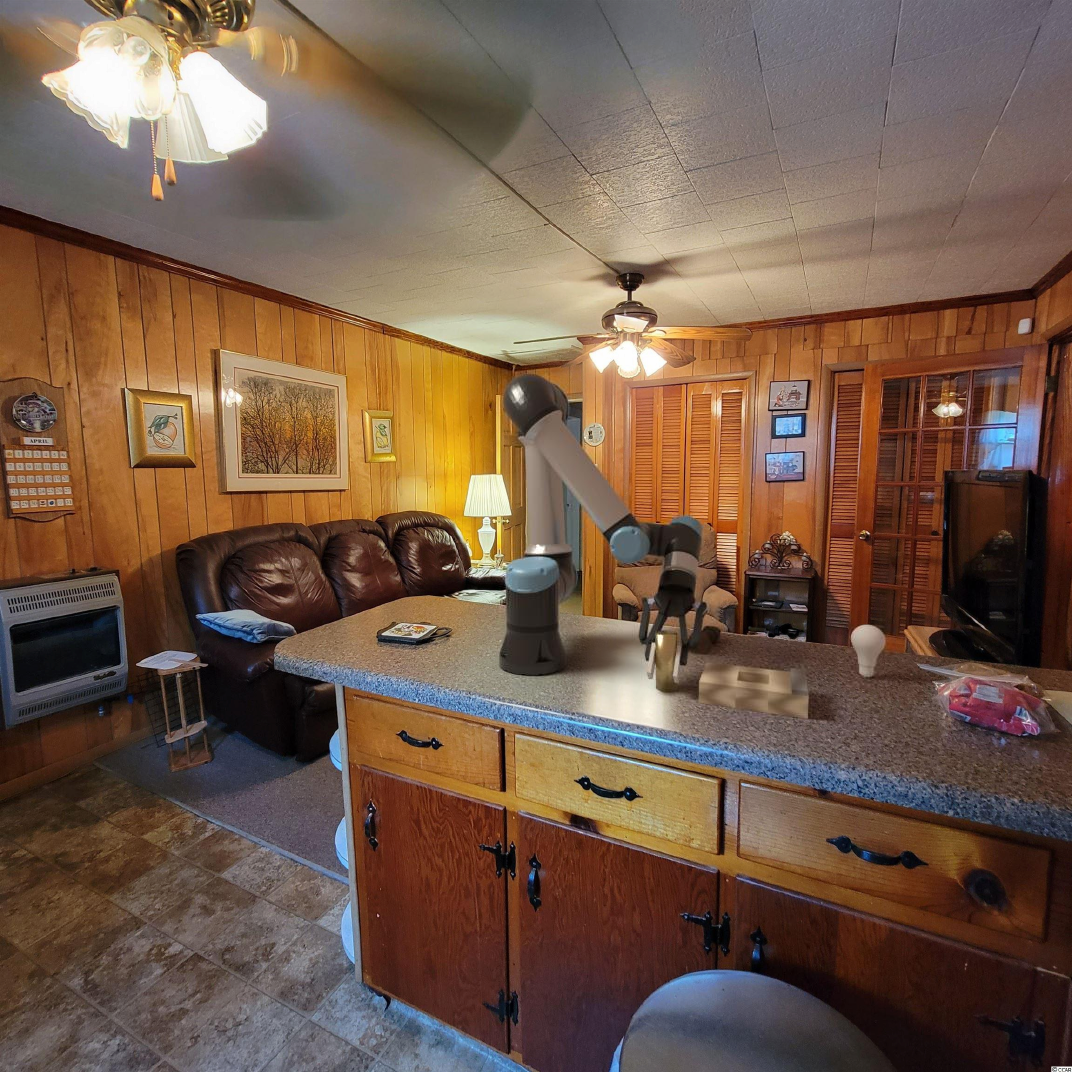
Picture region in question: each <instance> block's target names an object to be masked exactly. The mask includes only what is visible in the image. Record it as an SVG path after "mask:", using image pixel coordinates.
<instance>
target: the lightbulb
mask: <svg viewBox="0 0 1072 1072" xmlns="http://www.w3.org/2000/svg"><path fill="white" fill-rule="evenodd" d="M850 641H851V645H852V647H853V649H854V650H855V653H856V656H857V663H858V665H859V666H858V669H859V670H858V672H859V674H860V675H861V676H862V677H863V676H864V677H863V678H866V677H869V678H870V677H873V676H874V674H875V667H876V666H877V660H878V658H879V655H880V654H881V652H883V650H884V648H885V646H886V636H885V634H884V632H883V631H882V630H881V629H880V628H878V627H877V626H874V625H871V624H862V625H859V626H857V627H855V628H854V630H853V631H852V633H851V635H850Z"/></svg>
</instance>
